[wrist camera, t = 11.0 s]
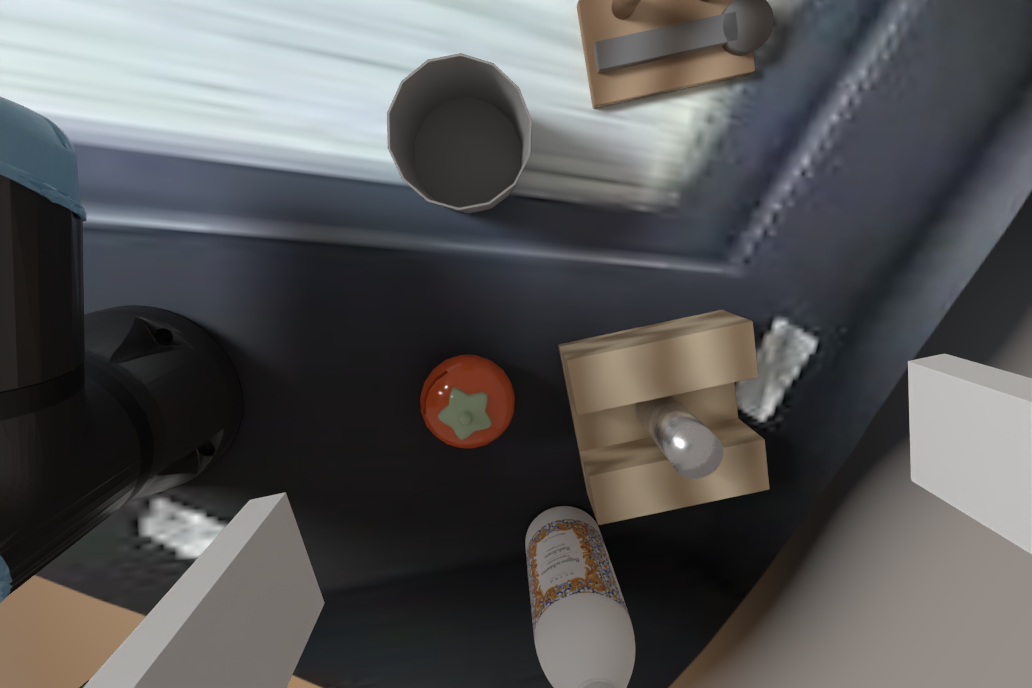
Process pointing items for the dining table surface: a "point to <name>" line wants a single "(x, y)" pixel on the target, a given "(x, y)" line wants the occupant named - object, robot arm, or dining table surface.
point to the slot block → (655, 374)
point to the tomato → (467, 401)
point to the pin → (681, 436)
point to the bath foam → (577, 603)
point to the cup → (459, 132)
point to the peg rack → (668, 44)
